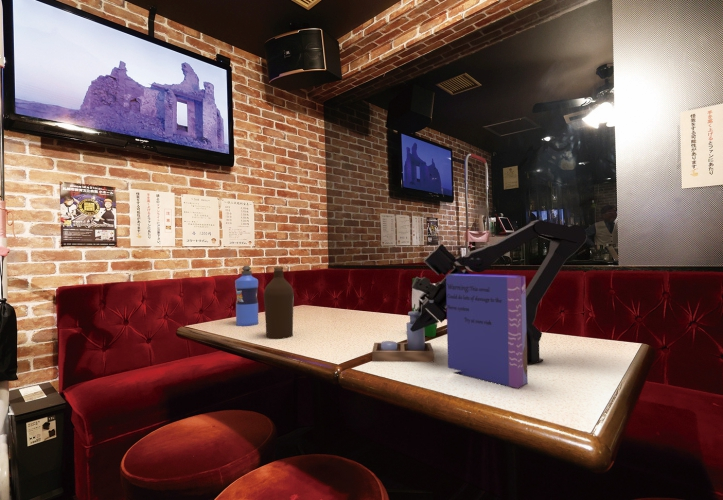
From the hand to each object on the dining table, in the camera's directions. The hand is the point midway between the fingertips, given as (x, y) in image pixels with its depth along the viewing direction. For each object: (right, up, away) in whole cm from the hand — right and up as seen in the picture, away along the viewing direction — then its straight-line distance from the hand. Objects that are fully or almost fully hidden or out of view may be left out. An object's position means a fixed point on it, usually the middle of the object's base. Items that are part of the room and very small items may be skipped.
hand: (410, 327), depth 104 cm
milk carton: (+9, -9, +31) cm, 34 cm away
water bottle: (-62, -11, +58) cm, 86 cm away
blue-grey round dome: (-6, -8, +1) cm, 10 cm away
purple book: (+15, -9, -15) cm, 23 cm away
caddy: (-2, -9, 0) cm, 9 cm away
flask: (+2, -8, 0) cm, 8 cm away
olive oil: (-43, -10, +34) cm, 56 cm away
